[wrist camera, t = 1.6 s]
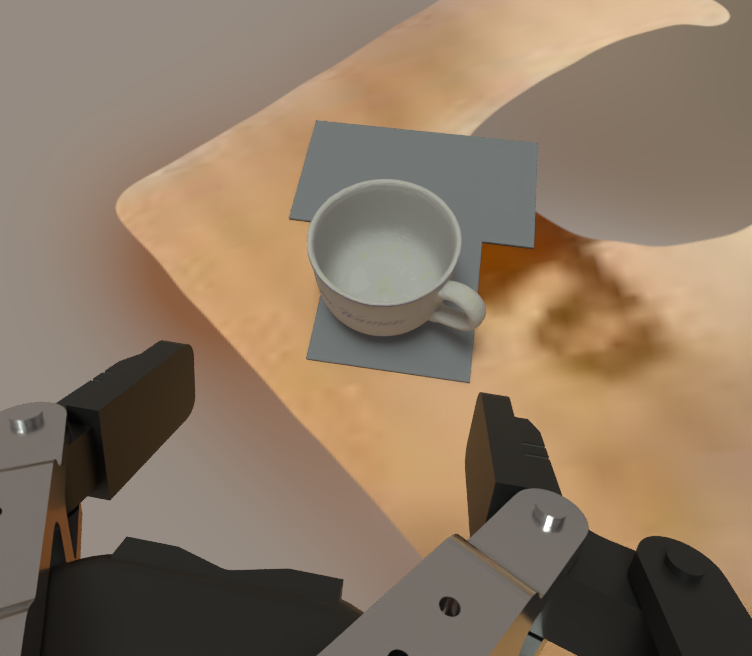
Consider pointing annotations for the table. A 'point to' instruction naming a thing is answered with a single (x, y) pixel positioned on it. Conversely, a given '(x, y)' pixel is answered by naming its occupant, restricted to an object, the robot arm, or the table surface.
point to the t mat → (460, 193)
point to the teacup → (390, 259)
